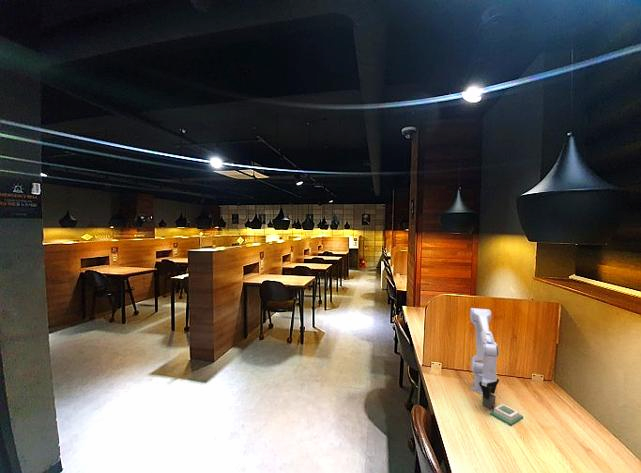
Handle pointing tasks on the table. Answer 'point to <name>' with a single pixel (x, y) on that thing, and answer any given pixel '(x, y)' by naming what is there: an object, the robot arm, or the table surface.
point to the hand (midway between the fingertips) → (489, 395)
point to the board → (505, 418)
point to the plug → (489, 402)
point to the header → (510, 417)
